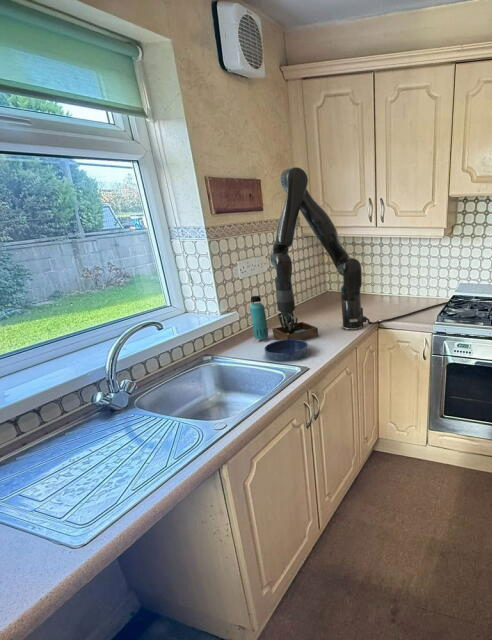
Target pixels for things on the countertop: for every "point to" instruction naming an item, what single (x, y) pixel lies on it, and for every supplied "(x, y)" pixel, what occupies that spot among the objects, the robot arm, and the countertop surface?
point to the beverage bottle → (258, 319)
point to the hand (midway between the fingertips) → (289, 337)
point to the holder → (302, 335)
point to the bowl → (286, 350)
